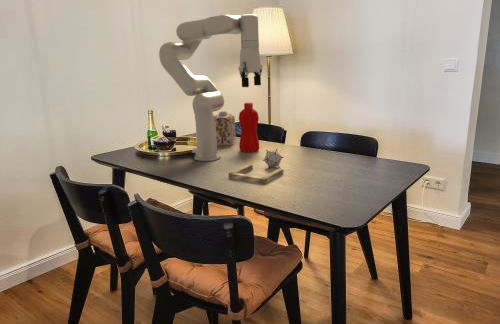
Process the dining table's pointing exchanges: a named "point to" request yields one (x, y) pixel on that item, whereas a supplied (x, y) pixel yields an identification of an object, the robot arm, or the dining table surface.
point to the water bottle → (248, 129)
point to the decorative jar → (225, 128)
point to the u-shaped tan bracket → (240, 175)
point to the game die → (272, 158)
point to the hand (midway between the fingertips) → (251, 86)
